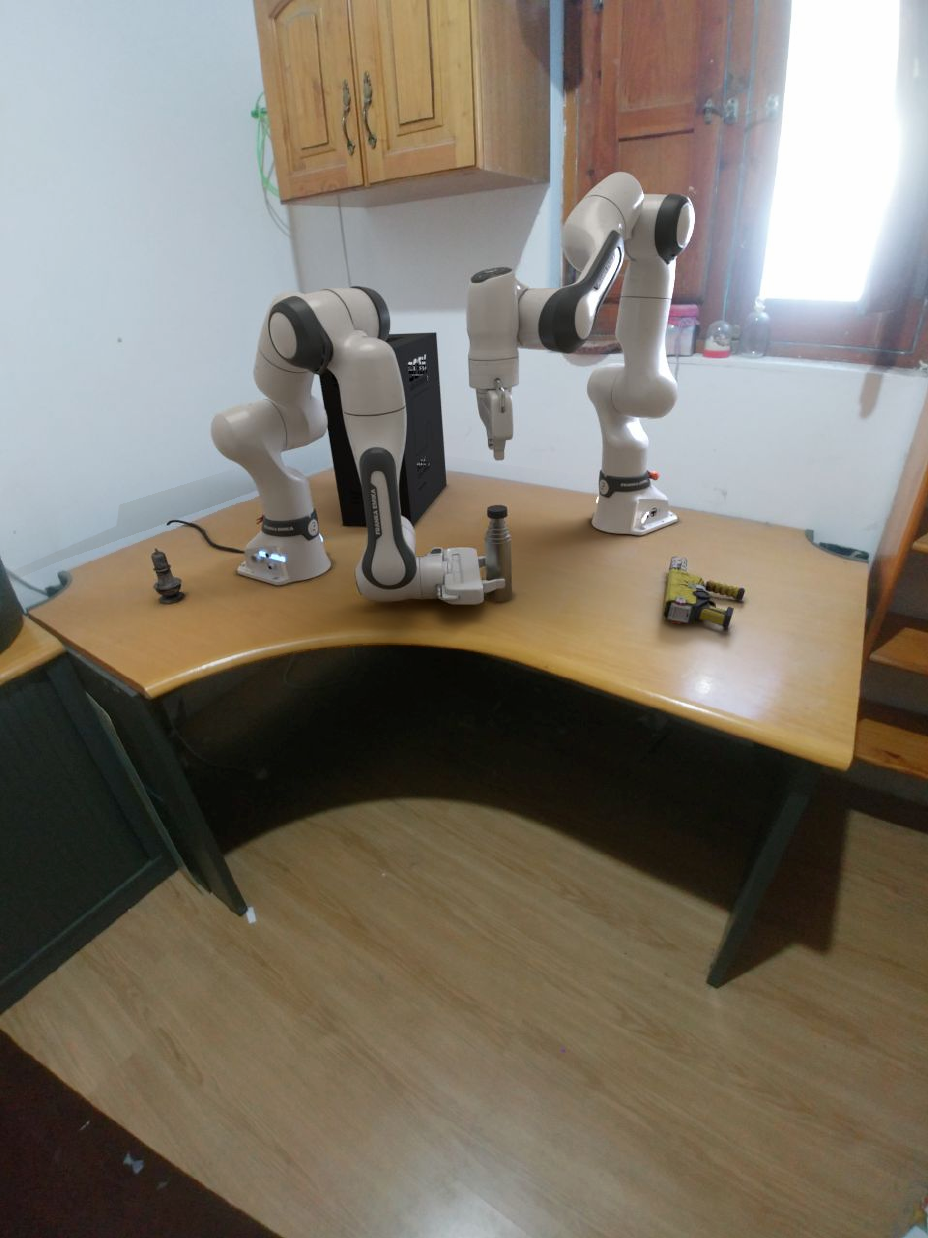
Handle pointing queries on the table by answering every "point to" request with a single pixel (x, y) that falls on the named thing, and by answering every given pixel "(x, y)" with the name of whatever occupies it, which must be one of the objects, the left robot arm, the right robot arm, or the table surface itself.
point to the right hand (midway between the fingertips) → (495, 453)
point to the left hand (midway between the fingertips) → (502, 572)
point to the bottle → (498, 559)
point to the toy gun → (695, 597)
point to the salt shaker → (166, 579)
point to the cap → (497, 512)
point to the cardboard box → (421, 433)
